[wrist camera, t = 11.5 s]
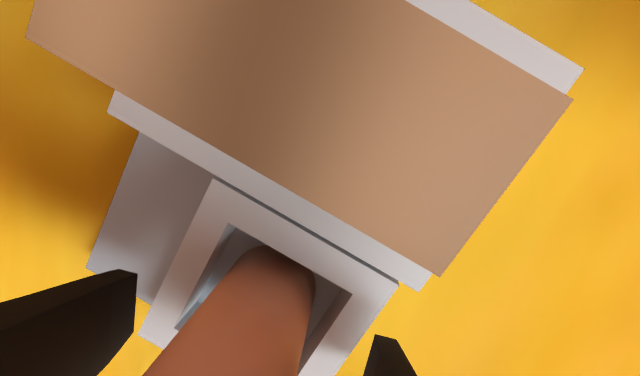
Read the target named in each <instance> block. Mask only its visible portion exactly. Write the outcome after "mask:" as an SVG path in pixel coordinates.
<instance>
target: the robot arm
mask: <svg viewBox="0 0 640 376" xmlns="http://www.w3.org/2000/svg"><path fill="white" fill-rule="evenodd" d="M137 278H138V274H137V273H133V272H129V271H126V270H122V269H116V270H111V271H107V272H103V273H100V274H96V275H93V276H89V277H86V278H83V279H79V280H76V281H73V282H69V283H66V284H63V285H59V286H56V287H53V288H50V289H46V290H43V291H40V292H36V293H33V294H30V295H26V296H23V297H19V298H15V299H12V300H8V301H5V302H1V303H0V376H97V375H98V374H99V373H100V372H101V371H102V370H103V369H104V368H105V367H106V365H107V364H108V363H109V362H110V361H111V360H112V358H113V357H114V356H115V355H116V354H117V352H118V351H119V350H120V349H121V347H122V346H123V345H124V343H125V342H126V341H127V340H128V338H129V337H130V336H131V334H132V333H133V331H134V317H135V304H136V291H137ZM363 376H417V375H416V373H415V371H414V369H413V368H412V366H411V364H410V362H409V361H408V359H407V357H406V355H405V354H404V352H403V350H402V348H401V347H400V345H399V343H398V342H397V340H396V339H392V338H388V337H384V336H380V335H376V334H375V336H374V340H373V343H372V347H371V350H370V354H369V357H368V361H367V364H366V368H365V371H364V375H363Z"/></svg>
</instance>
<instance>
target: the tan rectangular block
mask: <svg viewBox="0 0 640 376" xmlns="http://www.w3.org/2000/svg"><path fill="white" fill-rule="evenodd" d="M25 38H26V39H28V40H30V41H31V42H33V43H35V44H37V45H38V46H40V47H42V48H44V49H45V50H47V51H49V52H50V53H52V54H54V55H56V56H57V57H59V58H61V59H63V60H64V61H66V62H68V63H70V64H71V65H73V66H75V67H76V68H78V69H80V70H82V71H83V72H85V73H87V74H89V75H90V76H92V77H94V78H96V79H97V80H99V81H101V82H102V83H104V84H106V85H108V86H109V87H111V88H113V89H115V90H116V91H118V92H120V93H121V94H123V95H125V96H127V97H128V98H130V99H132V100H134V101H135V102H137V103H139V104H141V105H142V106H144V107H146V108H147V109H149V110H151V111H153V112H154V113H156V114H158V115H160V116H161V117H163V118H165V119H167V120H168V121H170V122H172V123H173V124H175V125H177V126H179V127H180V128H182V129H184V130H186V131H187V132H189V133H191V134H192V135H194V136H196V137H198V138H199V139H201V140H203V141H205V142H206V143H208V144H210V145H212V146H213V147H215V148H217V149H218V150H220V151H222V152H224V153H225V154H227V155H229V156H231V157H232V158H234V159H236V160H238V161H239V162H241V163H243V164H244V165H246V166H248V167H250V168H251V169H253V170H255V171H257V172H258V173H260V174H262V175H264V176H265V177H267V178H269V179H270V180H272V181H274V182H276V183H277V184H279V185H281V186H283V187H284V188H286V189H288V190H289V191H291V192H293V193H295V194H296V195H298V196H300V197H302V198H303V199H305V200H307V201H309V202H310V203H312V204H314V205H315V206H317V207H319V208H321V209H322V210H324V211H326V212H328V213H329V214H331V215H333V216H335V217H336V218H338V219H340V220H341V221H343V222H345V223H347V224H348V225H350V226H352V227H354V228H355V229H357V230H359V231H361V232H362V233H364V234H366V235H367V236H369V237H371V238H373V239H374V240H376V241H378V242H380V243H381V244H383V245H385V246H386V247H388V248H390V249H392V250H393V251H395V252H397V253H399V254H400V255H402V256H404V257H406V258H407V259H409V260H411V261H412V262H414V263H416V264H418V265H419V266H421V267H423V268H425V269H426V270H428V271H430V272H432V273H433V274H435V275H437V276H438V277H440V276H441V275H442V274H443V272H444V271H445V270H446V268H447V267H448V266H449V264H450V263H451V262H452V261H453V259H454V258H455V257H456V255H457V254H458V253H459V251H460V250H461V249H462V247H463V246H464V245H465V243H466V242H467V241H468V239H469V238H470V237H471V235H472V234H473V233H474V231H475V230H476V229H477V227H478V226H479V225H480V223H481V222H482V221H483V219H484V218H485V217H486V215H487V214H488V213H489V211H490V210H491V209H492V207H493V206H494V205H495V203H496V202H497V201H498V199H499V198H500V197H501V195H502V194H503V193H504V191H505V190H506V189H507V187H508V186H509V185H510V183H511V182H512V181H513V180H514V178H515V177H516V176H517V174H518V173H519V172H520V170H521V169H522V168H523V166H524V165H525V164H526V162H527V161H528V160H529V158H530V157H531V156H532V154H533V153H534V152H535V150H536V149H537V148H538V146H539V145H540V144H541V142H542V141H543V140H544V138H545V137H546V136H547V134H548V133H549V132H550V130H551V129H552V128H553V126H554V125H555V124H556V122H557V121H558V120H559V118H560V117H561V116H562V114H563V113H564V112H565V110H566V109H567V108H568V106H569V105H570V104H571V102H572V101H573V100H574V99H572V98H570V97H569V96H567V95H565V94H564V93H562V92H560V91H559V90H557V89H555V88H553V87H552V86H550V85H548V84H547V83H545V82H543V81H541V80H540V79H538V78H536V77H535V76H533V75H531V74H530V73H528V72H526V71H525V70H523V69H521V68H519V67H518V66H516V65H514V64H513V63H511V62H509V61H508V60H506V59H504V58H502V57H501V56H499V55H497V54H496V53H494V52H492V51H491V50H489V49H487V48H485V47H484V46H482V45H480V44H479V43H477V42H475V41H474V40H472V39H470V38H468V37H467V36H465V35H463V34H462V33H460V32H458V31H457V30H455V29H453V28H451V27H450V26H448V25H446V24H445V23H443V22H441V21H440V20H438V19H436V18H434V17H433V16H431V15H429V14H428V13H426V12H424V11H423V10H421V9H419V8H417V7H416V6H414V5H412V4H411V3H409V2H407V1H406V0H35V3H34V7H33V10H32V14H31V18H30V21H29V25H28V29H27V32H26V36H25Z"/></svg>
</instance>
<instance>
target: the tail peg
mask: <svg viewBox="0 0 640 376" xmlns="http://www.w3.org/2000/svg"><path fill="white" fill-rule="evenodd" d="M315 291H316V284H315V279H314V275H313V273H312V271H311V270H310V269H308V268H306V267H305V266H303V265H301V264H300V263H298V262H296V261H294V260H293V259H291V258H289V257H287V256H286V255H284V254H282V253H280V252H279V251H277V250H275V249H273V248H272V247H270V246H268V245H262V246H257V247H255V248H252V249H250V250H248V251H247V252H245V253H244V254H243V255H242V256H241V257H240V258H239V259H238V260H237V261H236V263H235V264H234V265H233V266H232V267H231V269H230V270H229V271H228V272H227V274H226V275H225V276H224V277H223V278H222V280H221V281H220V282H219V283H218V284H217V286H216V287H215V288H214V289H213V291H212V292H211V293H210V294H209V295H208V297H207V298H206V299H205V300H204V301H203V303H202V304H201V305H200V306H199V308H198V309H197V310H196V311H195V312H194V314H193V315H192V316H191V317H190V318H189V320H188V321H187V322H186V323H185V324H184V326H183V327H182V328H181V329H180V331H179V332H178V333H177V334H176V335H175V337H174V338H173V339H172V340H171V341H170V343H169V344H168V345H167V346H166V348H165V349H164V350H163V351H162V352H161V354H160V355H159V356H158V357H157V358H156V360H155V361H154V362H153V363H152V365H151V366H150V367H149V368H148V369H147V371H146V372H145V373H144V374H143V375H142V376H297V371H298V367H299V363H300V358H301V354H302V350H303V345H304V341H305V337H306V332H307V328H308V323H309V319H310V315H311V310H312V306H313V302H314V297H315Z"/></svg>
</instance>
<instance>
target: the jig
mask: <svg viewBox="0 0 640 376" xmlns="http://www.w3.org/2000/svg"><path fill="white" fill-rule="evenodd" d="M406 1H407V2H409V3H411V4H412V5H414V6H416V7H417V8H419V9H421V10H423V11H424V12H426V13H428V14H429V15H431V16H433V17H434V18H436V19H438V20H440V21H441V22H443V23H445V24H446V25H448V26H450V27H451V28H453V29H455V30H457V31H458V32H460V33H462V34H463V35H465V36H467V37H468V38H470V39H472V40H474V41H475V42H477V43H479V44H480V45H482V46H484V47H485V48H487V49H489V50H491V51H492V52H494V53H496V54H497V55H499V56H501V57H502V58H504V59H506V60H508V61H509V62H511V63H513V64H514V65H516V66H518V67H519V68H521V69H523V70H525V71H526V72H528V73H530V74H531V75H533V76H535V77H536V78H538V79H540V80H541V81H543V82H545V83H547V84H548V85H550V86H552V87H553V88H555V89H557V90H559V91H560V92H562V93H564V94H565V95H566V93H567V92H568V91H569V89H570V88H571V86H572V85H573V84H574V82H575V81H576V80H577V78H578V77H579V76H580V74H581V73H582V72H583V70H584V68H582V67H581V66H579V65H577V64H576V63H574V62H572V61H570V60H569V59H567V58H565V57H564V56H562V55H560V54H559V53H557V52H555V51H554V50H552V49H550V48H548V47H547V46H545V45H543V44H542V43H540V42H538V41H537V40H535V39H533V38H531V37H530V36H528V35H526V34H525V33H523V32H521V31H520V30H518V29H516V28H515V27H513V26H511V25H509V24H508V23H506V22H504V21H503V20H501V19H499V18H498V17H496V16H494V15H492V14H491V13H489V12H487V11H486V10H484V9H482V8H481V7H479V6H477V5H476V4H474V3H472V2H470V1H469V0H406ZM107 113H108V114H110V115H112V116H113V117H115V118H117V119H119V120H120V121H122V122H124V123H126V124H127V125H129V126H131V127H133V128H134V129H136V130H138V131H139V134H138V137H137V139H136V142H135V144H134V147H133V149H132V152H131V154H130V157H129V159H128V162H127V164H126V167H125V169H124V172H123V174H122V177H121V179H120V182H119V185H118V187H117V190H116V192H115V195H114V197H113V200H112V202H111V205H110V207H109V210H108V212H107V215H106V217H105V220H104V222H103V225H102V227H101V230H100V232H99V235H98V237H97V240H96V243H95V245H94V248H93V250H92V253H91V255H90V258H89V260H88V263H87V265H86V268H87V269H89V270H90V271H92V272H94V273H96V274H100V273H103V272H107V271H111V270H116V269H122V270H126V271H129V272H133V273H137V274H138V278H137V291H136V297H138V298H140V299H141V300H143V301H145V302H147V303H148V304H150V305H152V306H151V308H150V310H149V312H148V314H147V316H146V318H145V320H144V322H143V325H142V327H141V329H140V331H139V333H138V335H139V336H140V337H142V338H144V339H146V340H147V341H149V342H151V343H153V344H154V345H156V346H158V347H160V348H161V349H163V350H164V349H165V348H166V346H167V345H168V344H169V343H170V341H171V340H172V339H173V338H174V337H175V335H176V334H177V333H178V332H179V331H180V329H181V328H182V327H183V326H184V324H185V323H186V322H187V321H188V320H189V318H190V317H191V316H192V315H193V314H194V312H195V311H196V310H197V309H198V308H199V306H200V305H201V304H202V303H203V301H204V300H205V299H206V298H207V297H208V295H209V294H210V293H211V292H212V291H213V289H214V288H215V287H216V286H217V284H218V283H219V282H220V281H221V280H222V278H223V277H224V276H225V275H226V274H227V272H228V271H229V270H230V269H231V267H232V266H233V265H234V264H235V263H236V261H237V260H238V259H239V258H240V257H241V256H242V255H243V254H244V253H245V252H247V251H248V250H250V249H252V248H255V247H257V246H262V245H268V246H270V247H272V248H273V249H275V250H277V251H279V252H280V253H282V254H284V255H286V256H287V257H289V258H291V259H293V260H294V261H296V262H298V263H300V264H301V265H303V266H305V267H306V268H308V269H310V270H311V271H312V273H313V275H314V279H315V284H316V291H315V297H314V302H313V306H312V310H311V315H310V319H309V323H308V328H307V332H306V337H305V341H304V345H303V350H302V354H301V358H300V363H299V367H298V371H297V376H334V375H335V374H336V373H337V371H338V370H339V368H340V367H341V366H342V364H343V363H344V362H345V360H346V359H347V357H348V356H349V355H350V353H351V352H352V350H353V349H354V348H355V346H356V345H357V343H358V342H359V341H360V339H361V338H362V336H363V335H364V334H365V332H366V331H367V329H368V328H369V327H370V325H371V324H372V323H373V321H374V320H375V318H376V317H377V316H378V314H379V313H380V311H381V310H382V309H383V307H384V306H385V304H386V303H387V302H388V300H389V299H390V297H391V296H392V295H393V293H394V292H395V291H396V289H397V288H398V286H399V283H398V281H400V282H402V283H403V284H405V285H407V286H409V287H410V288H412V289H414V290H415V291H417V292H419V291H420V290H421V288H422V287H423V286H424V284H425V283H426V282H427V280H428V279H429V278H430V276H431V275H432V274H433V273H432V272H430V271H428V270H426V269H425V268H423V267H421V266H419V265H418V264H416V263H414V262H412V261H411V260H409V259H407V258H406V257H404V256H402V255H400V254H399V253H397V252H395V251H393V250H392V249H390V248H388V247H386V246H385V245H383V244H381V243H380V242H378V241H376V240H374V239H373V238H371V237H369V236H367V235H366V234H364V233H362V232H361V231H359V230H357V229H355V228H354V227H352V226H350V225H348V224H347V223H345V222H343V221H341V220H340V219H338V218H336V217H335V216H333V215H331V214H329V213H328V212H326V211H324V210H322V209H321V208H319V207H317V206H315V205H314V204H312V203H310V202H309V201H307V200H305V199H303V198H302V197H300V196H298V195H296V194H295V193H293V192H291V191H289V190H288V189H286V188H284V187H283V186H281V185H279V184H277V183H276V182H274V181H272V180H270V179H269V178H267V177H265V176H264V175H262V174H260V173H258V172H257V171H255V170H253V169H251V168H250V167H248V166H246V165H244V164H243V163H241V162H239V161H238V160H236V159H234V158H232V157H231V156H229V155H227V154H225V153H224V152H222V151H220V150H218V149H217V148H215V147H213V146H212V145H210V144H208V143H206V142H205V141H203V140H201V139H199V138H198V137H196V136H194V135H192V134H191V133H189V132H187V131H186V130H184V129H182V128H180V127H179V126H177V125H175V124H173V123H172V122H170V121H168V120H167V119H165V118H163V117H161V116H160V115H158V114H156V113H154V112H153V111H151V110H149V109H147V108H146V107H144V106H142V105H141V104H139V103H137V102H135V101H134V100H132V99H130V98H128V97H127V96H125V95H123V94H121V93H120V92H118V91H116V90H115V91H114V93H113V96H112V99H111V102H110V105H109V107H108V110H107Z"/></svg>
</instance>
